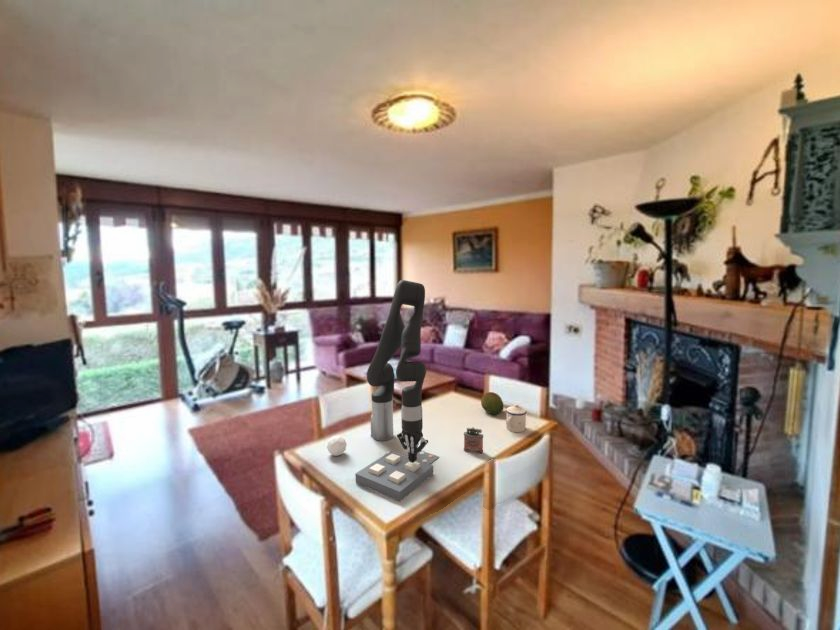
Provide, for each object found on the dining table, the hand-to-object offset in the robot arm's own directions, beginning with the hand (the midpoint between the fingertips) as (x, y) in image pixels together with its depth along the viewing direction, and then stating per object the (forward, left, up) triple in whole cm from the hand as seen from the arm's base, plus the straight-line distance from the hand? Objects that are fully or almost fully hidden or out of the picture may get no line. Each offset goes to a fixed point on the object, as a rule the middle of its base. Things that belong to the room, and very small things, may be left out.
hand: (412, 461), depth 146 cm
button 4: (0, -9, -3) cm, 10 cm away
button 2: (0, 0, -3) cm, 4 cm away
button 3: (-9, -9, -4) cm, 13 cm away
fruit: (-2, +72, -6) cm, 72 cm away
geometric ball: (-36, -4, -6) cm, 36 cm away
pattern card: (-5, +13, -6) cm, 15 cm away
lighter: (+9, +29, -6) cm, 31 cm away
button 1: (-9, 0, -3) cm, 10 cm away
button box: (-5, -5, -6) cm, 9 cm away
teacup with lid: (+15, +58, -6) cm, 61 cm away
